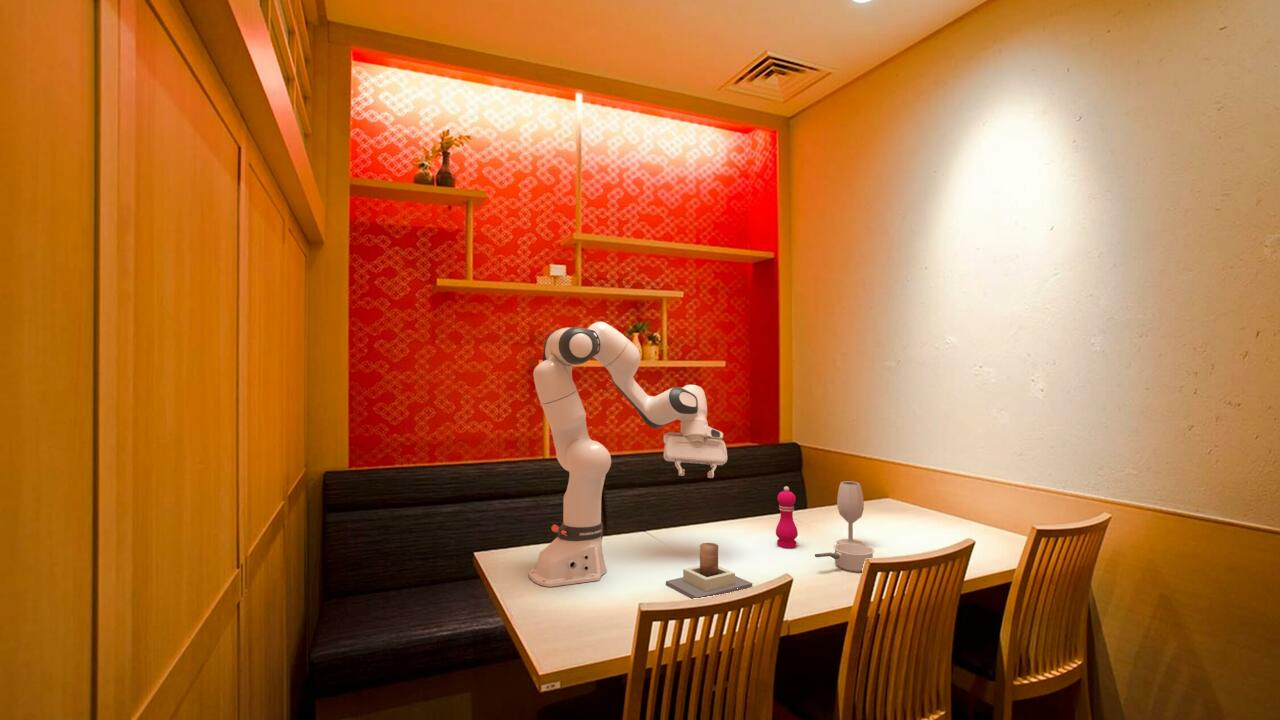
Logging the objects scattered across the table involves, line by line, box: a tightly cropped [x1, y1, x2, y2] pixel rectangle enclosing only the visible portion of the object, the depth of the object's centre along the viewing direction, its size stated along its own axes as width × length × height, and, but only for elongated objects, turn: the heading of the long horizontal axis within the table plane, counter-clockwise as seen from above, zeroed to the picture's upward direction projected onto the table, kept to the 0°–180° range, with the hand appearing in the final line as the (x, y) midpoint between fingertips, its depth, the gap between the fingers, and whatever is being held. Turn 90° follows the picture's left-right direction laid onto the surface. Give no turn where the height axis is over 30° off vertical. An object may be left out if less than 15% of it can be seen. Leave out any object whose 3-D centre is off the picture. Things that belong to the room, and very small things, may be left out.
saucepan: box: [814, 543, 875, 573], centre depth 176 cm, size 12×20×6 cm, turn 114°
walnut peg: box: [699, 542, 719, 577], centre depth 162 cm, size 5×5×10 cm
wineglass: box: [836, 481, 866, 546], centre depth 201 cm, size 9×9×21 cm
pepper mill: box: [775, 485, 799, 549], centre depth 200 cm, size 7×7×20 cm
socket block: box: [665, 565, 753, 600], centre depth 162 cm, size 19×14×4 cm
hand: (696, 476), depth 183 cm, fingers open, 8 cm apart
